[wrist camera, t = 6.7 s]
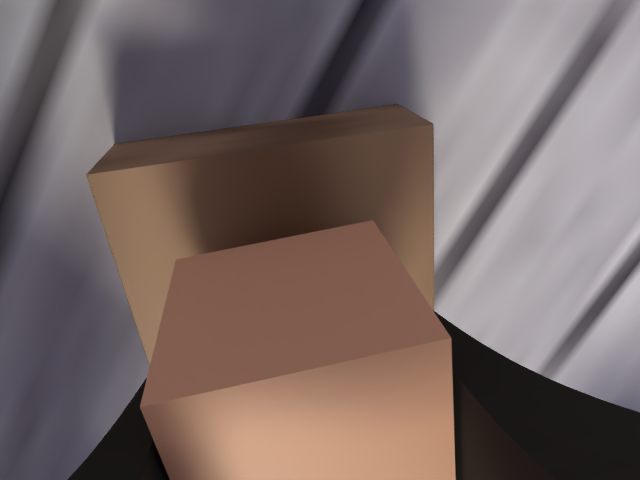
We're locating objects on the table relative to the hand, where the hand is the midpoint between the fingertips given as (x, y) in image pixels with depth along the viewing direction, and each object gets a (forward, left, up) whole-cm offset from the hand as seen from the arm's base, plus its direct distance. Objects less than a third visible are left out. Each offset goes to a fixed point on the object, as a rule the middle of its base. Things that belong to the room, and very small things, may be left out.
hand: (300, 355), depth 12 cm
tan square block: (0, 0, -6) cm, 6 cm away
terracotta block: (0, 0, -1) cm, 1 cm away
